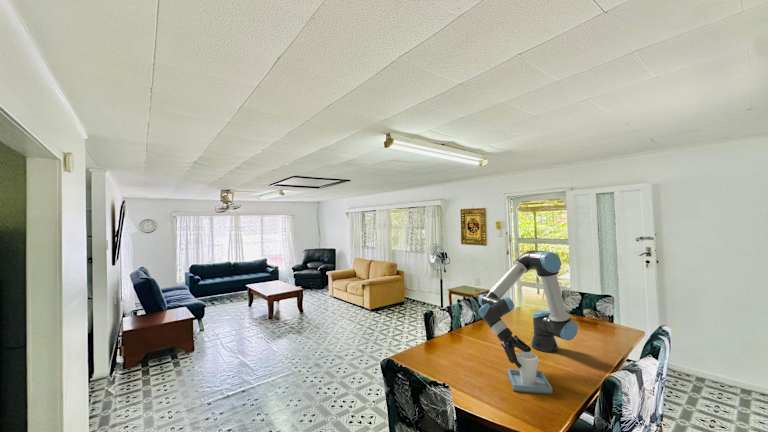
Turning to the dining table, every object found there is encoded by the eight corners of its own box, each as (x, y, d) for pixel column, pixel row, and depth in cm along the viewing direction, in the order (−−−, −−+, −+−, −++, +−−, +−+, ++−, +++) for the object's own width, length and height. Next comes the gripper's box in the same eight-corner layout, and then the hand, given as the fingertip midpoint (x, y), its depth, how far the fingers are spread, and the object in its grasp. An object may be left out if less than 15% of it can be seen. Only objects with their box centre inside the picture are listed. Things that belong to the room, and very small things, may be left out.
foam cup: (514, 378, 159) (513, 352, 159) (531, 376, 160) (530, 351, 160) (524, 387, 150) (523, 360, 150) (542, 386, 150) (541, 359, 151)
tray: (542, 376, 161) (541, 371, 161) (552, 394, 144) (552, 387, 145) (507, 374, 165) (507, 368, 165) (513, 391, 148) (513, 384, 148)
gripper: (508, 329, 175) (536, 364, 164) (485, 341, 158) (515, 381, 147) (517, 321, 171) (547, 357, 160) (495, 333, 154) (526, 373, 143)
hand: (532, 368), depth 153 cm, fingers open, 13 cm apart
